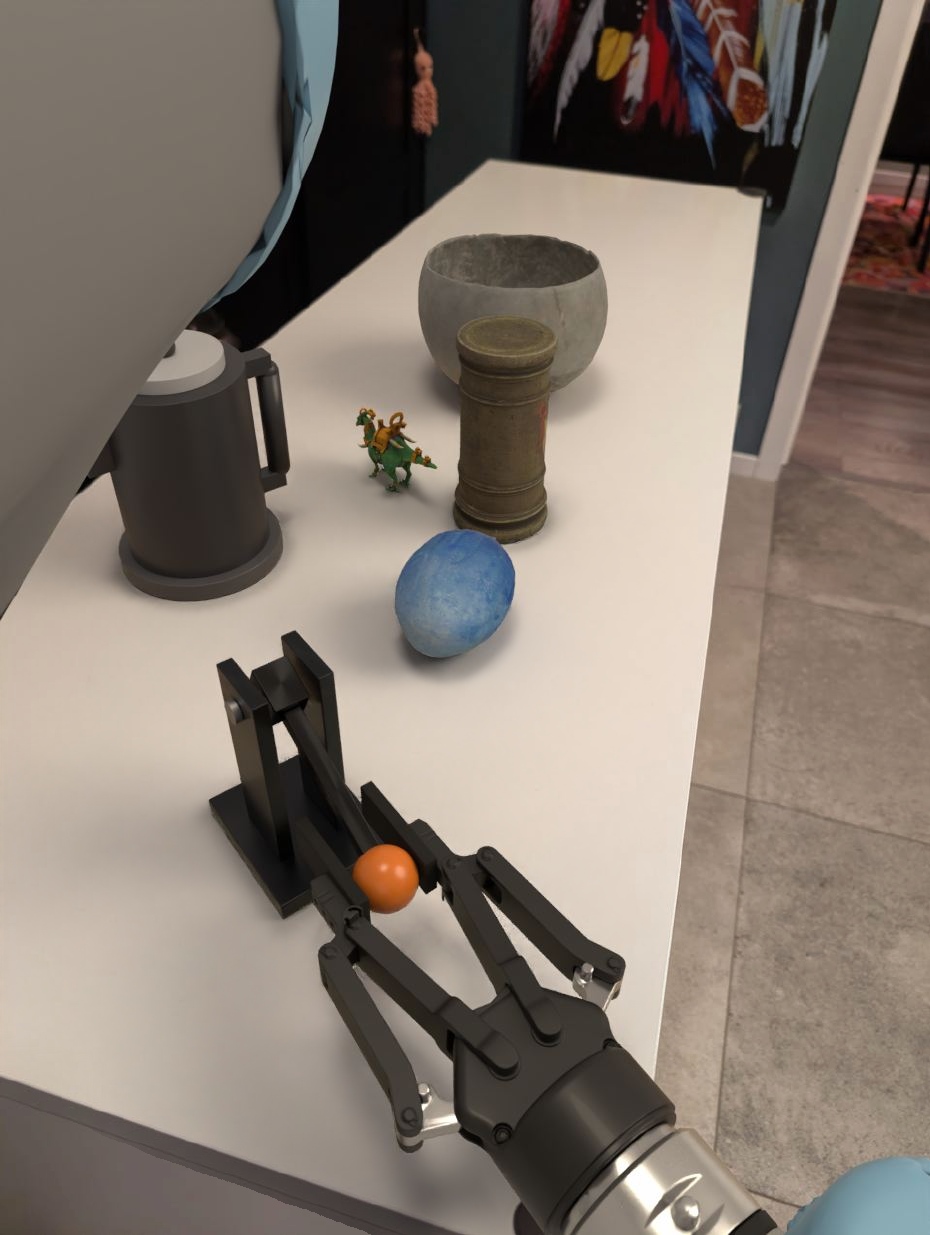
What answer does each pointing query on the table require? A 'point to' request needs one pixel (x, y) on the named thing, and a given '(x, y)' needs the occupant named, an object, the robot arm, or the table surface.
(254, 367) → the kettle
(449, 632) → the egg
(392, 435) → the figurine
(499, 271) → the bowl
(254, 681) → the switch
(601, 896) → the table surface
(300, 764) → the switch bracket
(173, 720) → the table surface
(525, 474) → the container
